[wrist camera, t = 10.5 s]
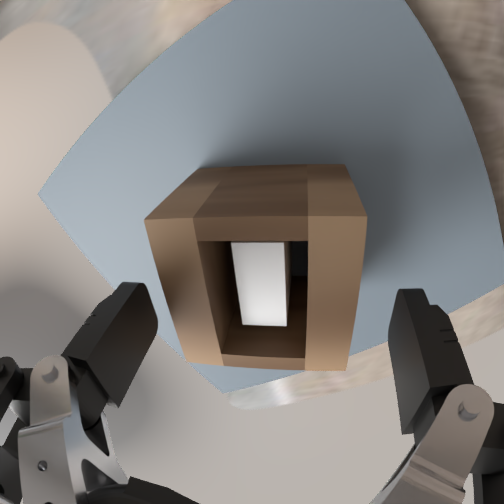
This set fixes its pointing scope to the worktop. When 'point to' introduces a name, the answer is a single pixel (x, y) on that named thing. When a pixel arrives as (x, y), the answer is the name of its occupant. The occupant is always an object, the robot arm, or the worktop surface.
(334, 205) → the tan hollow open box
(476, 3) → the worktop surface
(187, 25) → the worktop surface
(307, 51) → the flat blue-gray panel
